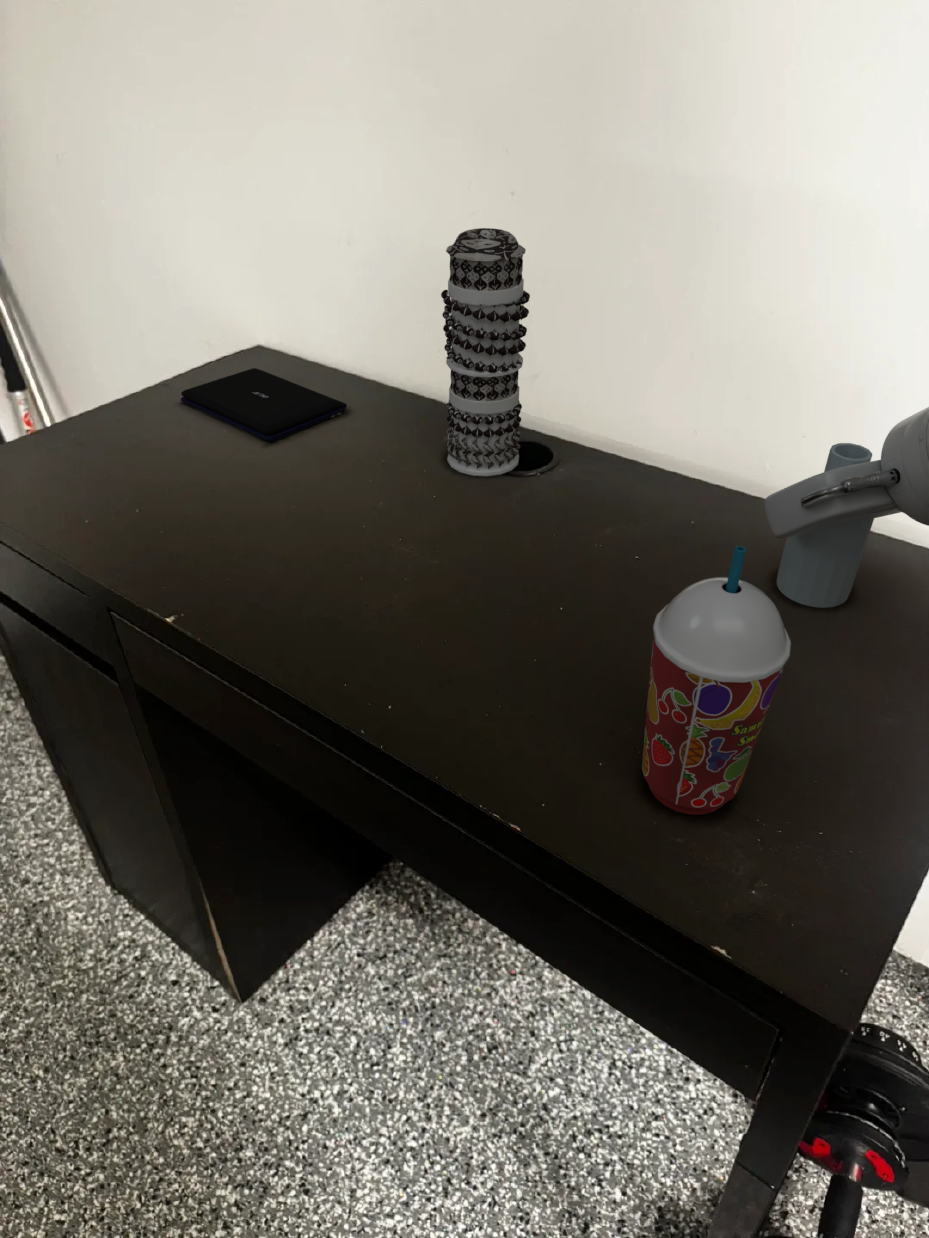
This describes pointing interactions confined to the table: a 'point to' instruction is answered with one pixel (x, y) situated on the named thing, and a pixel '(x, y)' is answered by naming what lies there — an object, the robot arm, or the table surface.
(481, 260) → the decorative candle
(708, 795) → the smoothie
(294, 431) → the laptop
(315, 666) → the table surface
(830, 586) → the small bottle
